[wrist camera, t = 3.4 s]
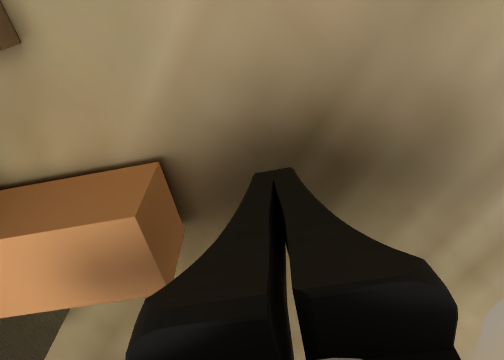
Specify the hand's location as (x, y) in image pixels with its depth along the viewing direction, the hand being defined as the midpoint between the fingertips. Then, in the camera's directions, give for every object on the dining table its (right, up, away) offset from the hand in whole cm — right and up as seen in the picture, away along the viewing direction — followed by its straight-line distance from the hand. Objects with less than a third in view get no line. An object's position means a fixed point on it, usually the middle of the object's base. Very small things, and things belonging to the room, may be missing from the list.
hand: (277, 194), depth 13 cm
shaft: (-12, -2, +2) cm, 12 cm away
